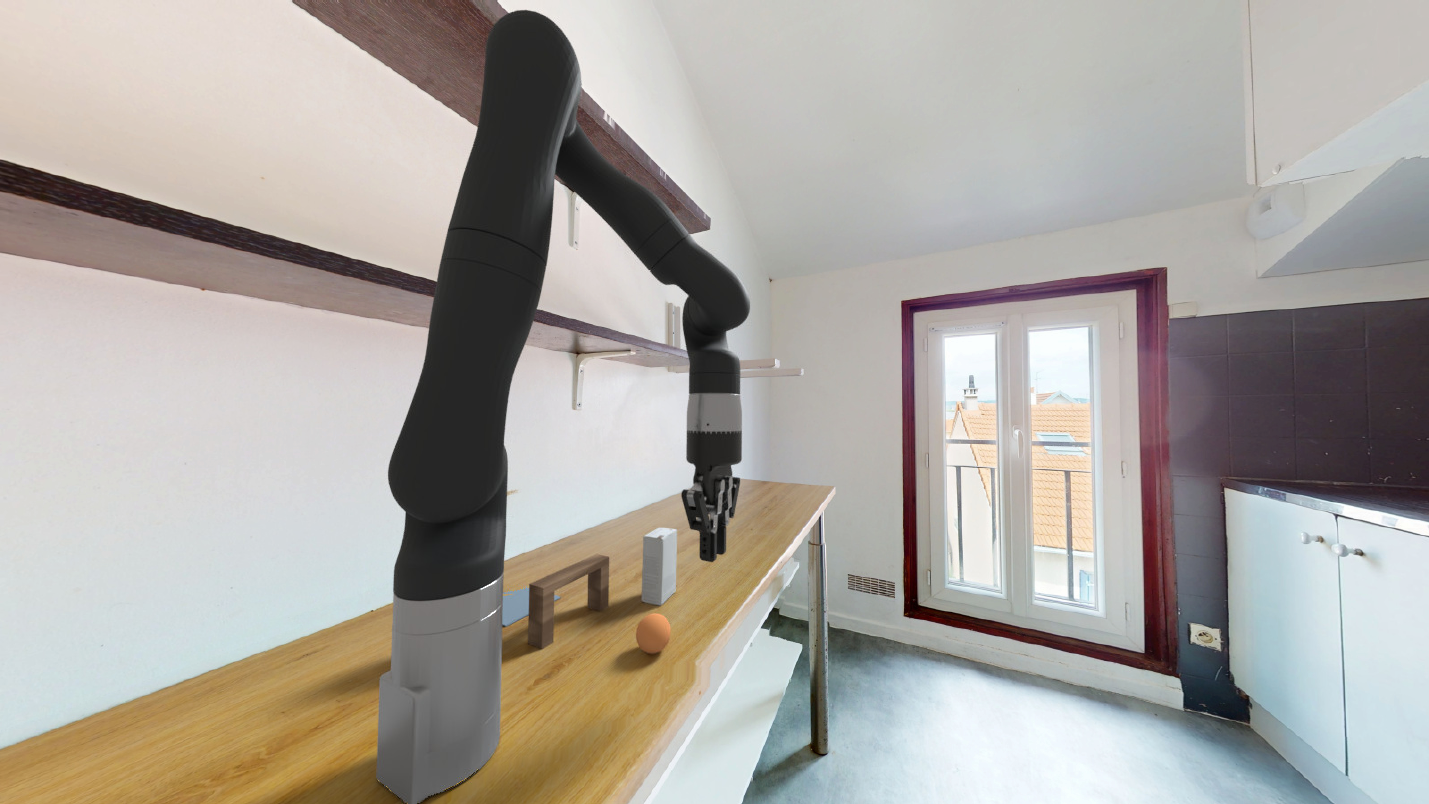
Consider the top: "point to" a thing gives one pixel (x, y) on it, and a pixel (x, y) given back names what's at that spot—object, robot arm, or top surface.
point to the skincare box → (659, 565)
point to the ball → (653, 633)
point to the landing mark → (516, 606)
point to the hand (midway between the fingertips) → (713, 556)
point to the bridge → (545, 587)
